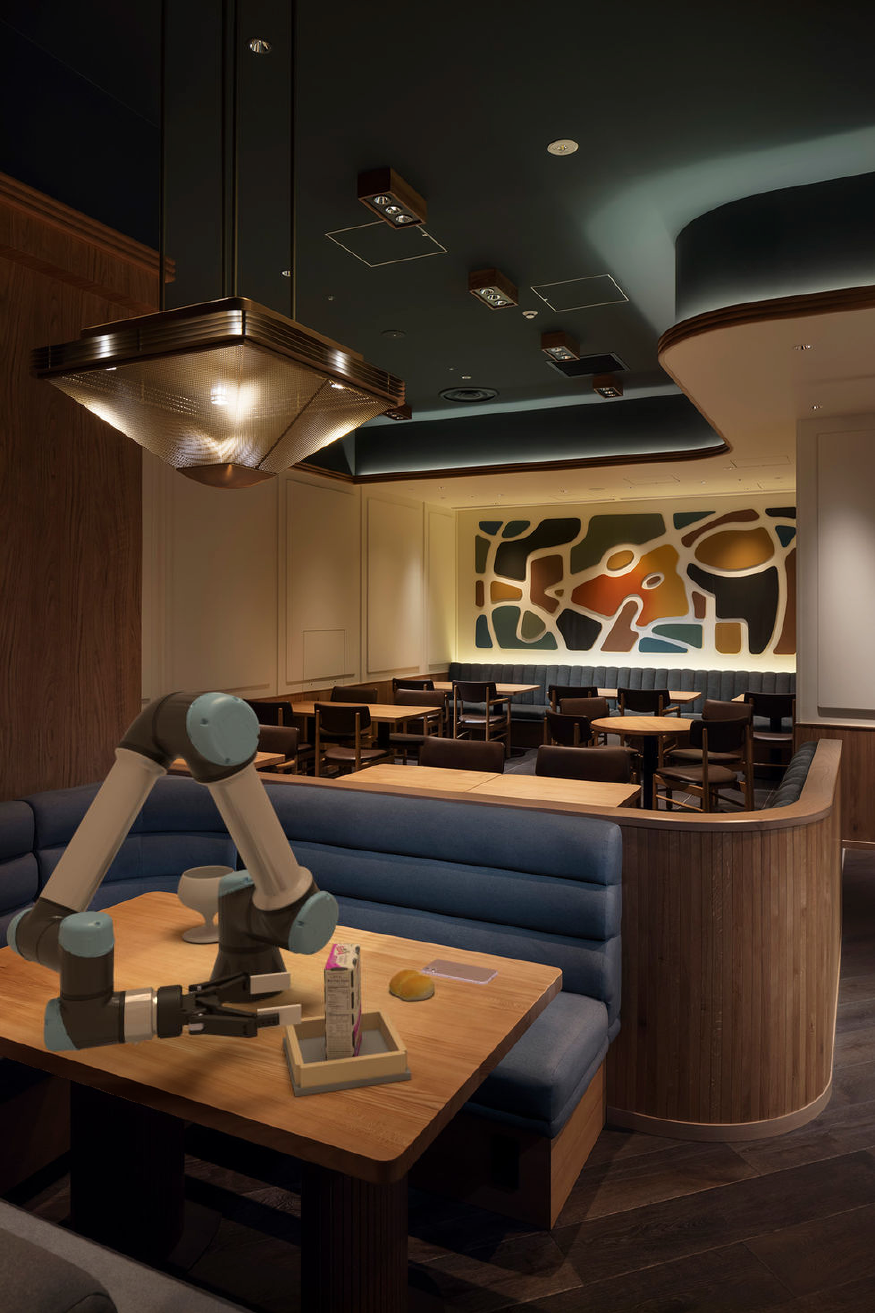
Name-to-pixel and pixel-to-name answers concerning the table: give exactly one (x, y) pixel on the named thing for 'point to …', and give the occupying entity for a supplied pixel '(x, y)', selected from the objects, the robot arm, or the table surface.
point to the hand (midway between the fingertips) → (295, 996)
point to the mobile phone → (460, 971)
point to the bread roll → (411, 985)
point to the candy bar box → (343, 1002)
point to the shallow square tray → (374, 1064)
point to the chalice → (202, 899)
